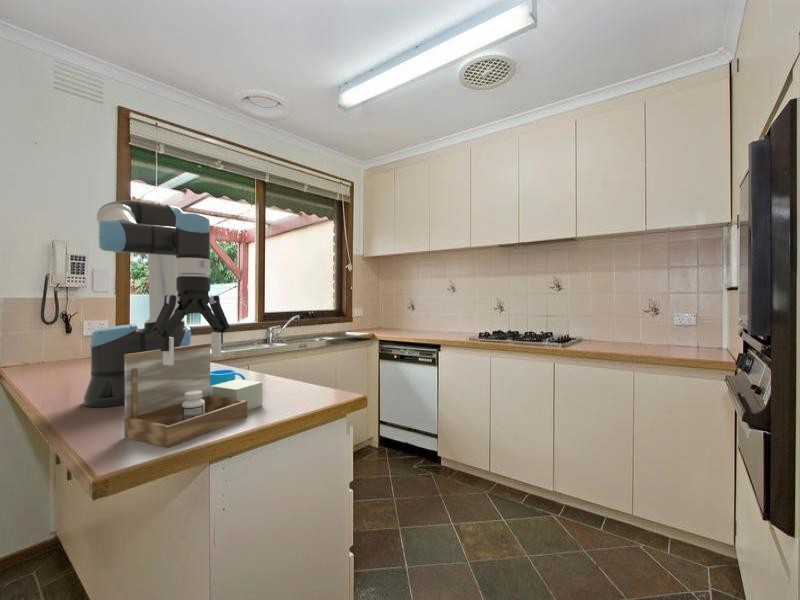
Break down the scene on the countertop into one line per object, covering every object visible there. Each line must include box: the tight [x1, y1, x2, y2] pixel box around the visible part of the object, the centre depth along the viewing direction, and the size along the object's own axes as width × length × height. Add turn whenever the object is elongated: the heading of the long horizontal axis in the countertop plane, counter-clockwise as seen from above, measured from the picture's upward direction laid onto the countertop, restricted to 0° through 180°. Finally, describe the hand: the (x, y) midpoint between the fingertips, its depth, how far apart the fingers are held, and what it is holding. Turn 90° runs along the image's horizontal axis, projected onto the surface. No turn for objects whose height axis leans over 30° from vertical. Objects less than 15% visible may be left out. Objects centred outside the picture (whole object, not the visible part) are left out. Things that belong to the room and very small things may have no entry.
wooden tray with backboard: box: [124, 342, 249, 449], centre depth 98 cm, size 15×23×20 cm, turn 157°
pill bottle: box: [181, 391, 206, 421], centre depth 98 cm, size 5×5×9 cm
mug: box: [210, 369, 246, 395], centre depth 128 cm, size 12×8×8 cm
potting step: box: [211, 378, 263, 411], centre depth 115 cm, size 10×10×7 cm
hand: (193, 360), depth 97 cm, fingers open, 13 cm apart
